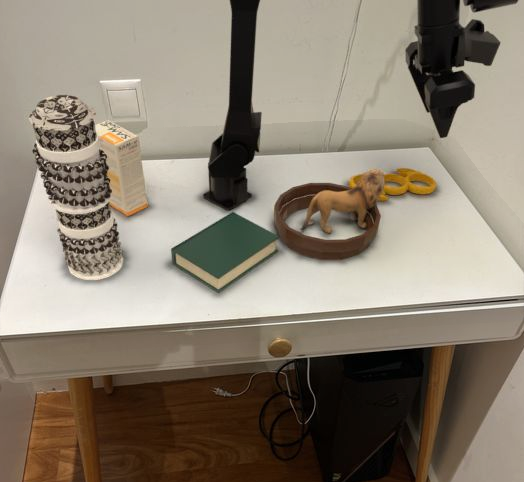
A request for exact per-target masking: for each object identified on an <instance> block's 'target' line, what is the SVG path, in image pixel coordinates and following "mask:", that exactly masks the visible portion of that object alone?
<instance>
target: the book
mask: <svg viewBox="0 0 524 482" xmlns="http://www.w3.org/2000/svg"><path fill="white" fill-rule="evenodd" d="M279 239H280V237H279V235H277V234H276V233H273V232H272V231H270V230H268V229H266V228H264V227H263V226H261V225H259V224H257V223H255V222H253V221H251V220H249V219H248V218H246V217H244V216H242V215H240V214H238V213H237V212H234V211H232V212H230V213H228V214H227V215H225V216H223V217H221V218H220V219H218V220H217V221H215V222H213V223H211V224H210V225H207V227H205V228H203V229H202V230H200V231H197V232H196V233H195V234H193V235H192V236H189V237H188V238H186V239H185V240H183V241H182V242H179V243H178V244H177V245H175V246H173V247H171V248H170V255H171V263H172V265H173V266H174V267H176V268H178V269H179V270H180V271H182V272H184V273H186V274H188V275H189V276H191V277H192V278H194V279H195V280H197V281H198V282H200V283H202V284H203V285H205V286H206V287H208V288H209V289H211V290H212V291H214V292H216V293H218V294H220V293H222V292H223V291H224V290H226V289H227V288H228V287H230V286H231V285H233V284H234V283H236V282H237V281H239V280H240V279H241V278H243V277H244V276H245V275H247V274H248V273H250V272H251V271H253V270H254V269H255V268H257V267H258V266H260V265H261V264H263V263H264V262H266V261H267V260H268V259H270V258H271V257H273V256H274V255H276V254H277V253H278V252H279V249H277V240H279Z"/></svg>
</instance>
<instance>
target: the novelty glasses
mask: <svg viewBox="0 0 524 482" xmlns="http://www.w3.org/2000/svg"><path fill="white" fill-rule="evenodd" d="M396 173H397V174H396ZM396 173H384V180H385V183H387V182H393V183H397V184H399V185H400V186H389V185H388V184H387V185H386V184H385V186H384V188H383V191H382V194H381V195H380V198H379V199H378V202H387V201H389V197H388V196H386V195H391V196H399V195H403V194H405V193H406V192H407V191H408V192H411V193H412V194H416V195H429V194H431V193H433V192H434V191H435V190H436V187H437V183H436V179H434V178H433V176H431V175H428V174H426V173H424V172H421V171H419V170H416V169H412V168H405V167H400V168H399V167H398V168H396ZM362 178H363V173H360V174H355V175H353V176H352V177H350V179H349V181H348V187H351V188H354V187H355V186H356V185H357V183H358V182H359V181H360V180H361V179H362ZM412 182H422V183H425V184H427V185H428V186H419V185H416V184H414V183H412Z"/></svg>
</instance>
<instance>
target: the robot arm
mask: <svg viewBox="0 0 524 482" xmlns="http://www.w3.org/2000/svg"><path fill="white" fill-rule="evenodd" d="M416 1H417V25H414V35H415V36H416V38H417V40H416V41H411V42H410V43H409V44H408V45H407V47H405V50H404V53H405V63H406V65H407V70H408V71H409V74H410V76H411V79H412V81H413V83H414V86H415V88H416V90H417V92H418V95H419V97H420V99H421V102H422V104H423V107H424V109H425V112H426V113H428V114H430V116H431V119H432V122H433V124H434V126H435V129H436V131H437V134H438V137H439V138H440V139H444V138H447V137H448V136H449V133H450V130H451V127H452V124H453V121H454V118H455V115H456V113H457V111H458V109H459V107H460V106H462V105H463V104H466V103H468V102H469V101H472V100H474V99H475V94H476V93H475V92H476V91H475V90H476V83H474V81H473V79H472V78H471V77H470V75H469V74H468V73H466V72H465V71H464V70H462V69H461V70H456V71H454V70H453V68H462V67H465V63H466V62H469V63H475V64H481V65H483V66H485V67H491V66H493V63H494V61H495V59H496V55H497V53H498V50H499V49H500V46H501V44H502V43H501V41H500V40H499V39H498V38H497V37H496V35H494V34H493V33H492V32H490V31H488V30H486V31H485V24H484V22H483V21H481V19H474V18H472V19H471V20H470V21H469V22H468V23H467V24H466V25H465V27H464V26H462V24H461V23H460V18H461V17H460V14H461V0H416ZM462 2H463V6H464V7H469V6H470V11H471V12H472V13H479V12H484V11H489V10H494V9H498V8H503V7H507V6H513V5H516V4H518V2H519V0H462ZM260 3H261V0H229V5H230V11H231V25H230V52H229V53H230V55H229V56H230V57H229V91H228V107H227V112H226V116H225V122H224V125H223V131H222V133H221V134H220V135H219V136H218V137H217V138H216V139H215V140H213V141H212V143H211V148H210V153H209V158H208V162H207V170H208V191H206V192H204V193H203V194H202V197H203V198H204V199H205V200H207V201H209V202H211V203H213V204H215V205H217V206H218V207H220V208H222V209H224V210H225V211H230V210H232V209H234V208H236V207H237V206H239V205H240V204H242V203H244V202H245V201H247V200H249V199H250V198H252V196H253V195H252V193H251V192H249V191H248V181H249V180H248V178H247V168H246V166H248V165H250V163H252V162H253V161H254V159H255V155H256V153H260V148H261V147H260V146H261V129H262V116H263V115H262V114H263V113H262V111H254V105H253V87H254V72H255V71H254V70H255V57H256V56H255V54H256V37H257V20H258V11H259V6H260Z"/></svg>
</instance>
